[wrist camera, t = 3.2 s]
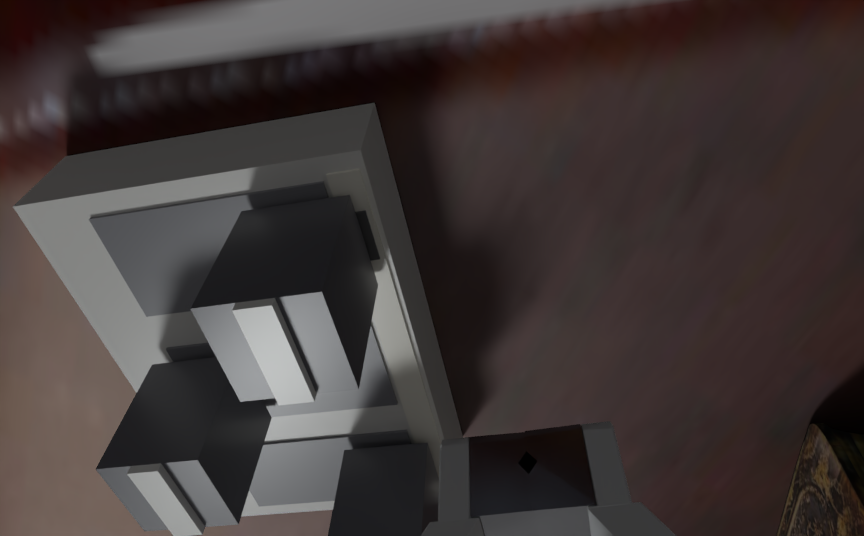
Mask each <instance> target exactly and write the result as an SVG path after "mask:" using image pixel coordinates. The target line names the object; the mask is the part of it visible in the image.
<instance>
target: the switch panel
mask: <svg viewBox="0 0 864 536" xmlns="http://www.w3.org/2000/svg"><path fill="white" fill-rule="evenodd" d="M345 195H350V197H351V200H352V203H353V206H354V209H355V213H356V216H357V219H358V222H359V225H360V229H361V232H362V235H363V238H364V241H365V244H366V248H367V251H368V254H369V257H370V260H371V264H372V267H373V270H374V273H375V276H376V280H377V283H378V289H377V294H376V299H375V305H374V310H373V316H372V321H371V327H370V332H369V337H368V343H367V348H366V354H365V359H364V364H363V370H362V375H361V381H360V386H359V390H349V391H340V392H330V393H320V394H316V398H315V402H308V403H298V404H289V405H278V403H277V401H276V399H275V398H272V399H263V402H264V404H265V406H266V408H267V409H268V411H269V413H270V415H271V417H272V418H271V422H270V425H269V428H268V431H267V434H266V438H265V441H264V444H263V447H262V450H261V454H260V457H259V460H258V463H257V467H256V470H255V473H254V476H253V479H252V483H251V486H250V489H249V492H248V496H247V499H246V502H245V505H244V508H243V512H242V515H241V516H253V515H267V514H280V513H293V512H306V511H320V510H333V507H334V501H335V496H336V491H337V486H338V480H339V475H340V470H341V465H342V459H343V454H344V450H350V449H361V448H372V447H383V446H394V445H406V444H417V443H428V445H429V448H430V452H431V455H432V458H433V461H434V464H435V468H436V471H437V474H438V477H439V461H440V446H441V442H442V440H446V439H456V438H463V435H462V432H461V428H460V424H459V420H458V416H457V413H456V409H455V405H454V401H453V398H452V394H451V390H450V386H449V382H448V379H447V375H446V371H445V367H444V363H443V360H442V356H441V352H440V348H439V345H438V341H437V337H436V333H435V329H434V326H433V322H432V318H431V314H430V310H429V307H428V303H427V299H426V295H425V292H424V288H423V284H422V280H421V276H420V273H419V269H418V265H417V261H416V257H415V254H414V250H413V246H412V242H411V239H410V235H409V231H408V227H407V223H406V220H405V216H404V212H403V208H402V204H401V201H400V197H399V193H398V189H397V185H396V182H395V178H394V174H393V170H392V167H391V163H390V159H389V155H388V151H387V148H386V144H385V140H384V136H383V132H382V129H381V125H380V121H379V117H378V114H377V110H376V106H375V103H370V104H364V105H358V106H353V107H347V108H341V109H335V110H329V111H324V112H318V113H312V114H306V115H301V116H295V117H289V118H283V119H278V120H272V121H266V122H260V123H255V124H249V125H243V126H237V127H232V128H226V129H220V130H214V131H209V132H203V133H197V134H191V135H185V136H180V137H174V138H168V139H162V140H157V141H151V142H145V143H139V144H134V145H128V146H122V147H116V148H111V149H105V150H99V151H93V152H88V153H82V154H76V155H70V156H66V157H65V158H63V159H62V160H61V161H60V162H59V163H58V164H57V165H56V166H55V167H54V168H53V169H52V170H51V171H50V172H49V173H48V174H47V175H46V176H45V177H43V178H42V179H41V180H40V181H39V182H38V183H37V184H36V185H35V186H34V187H33V188H32V189H31V190H30V191H29V192H28V193H27V194H26V195H25V196H24V197H22V198H21V199H20V200H19V201H18V202H17V203H16V204H15V205H14V206H13V208H14V209H15V211H16V212H17V214H18V215H19V217H20V218H21V220H22V221H23V223H24V224H25V226H26V227H27V229H28V230H29V232H30V233H31V235H32V236H33V238H34V239H35V241H36V242H37V244H38V245H39V247H40V248H41V250H42V251H43V253H44V254H45V256H46V257H47V259H48V260H49V262H50V263H51V265H52V266H53V268H54V269H55V271H56V272H57V274H58V275H59V277H60V278H61V280H62V281H63V283H64V284H65V286H66V287H67V289H68V290H69V292H70V293H71V295H72V296H73V298H74V299H75V301H76V303H77V304H78V306H79V307H80V309H81V310H82V312H83V313H84V315H85V316H86V318H87V319H88V321H89V322H90V324H91V325H92V327H93V328H94V330H95V331H96V333H97V334H98V336H99V337H100V339H101V340H102V342H103V343H104V345H105V346H106V348H107V349H108V351H109V352H110V354H111V355H112V357H113V358H114V360H115V361H116V363H117V364H118V366H119V367H120V369H121V370H122V372H123V373H124V375H125V376H126V378H127V379H128V381H129V382H130V384H131V385H132V387H133V388H134V390H135V391H136V393H137V392H138V390H139V388H140V386H141V384H142V382H143V380H144V379H145V377H146V375H147V373H148V371H149V369H150V368H151V366H152V365H153V364H161V363H170V362H178V361H187V360H196V359H204V358H213V357H216V356H215V354H214V352H213V350H212V348H211V346H210V344H209V343H208V341H207V339H206V337H205V335H204V333H203V331H202V330H201V328H200V326H199V324H198V322H197V320H196V318H195V316H194V315H193V313H192V311H191V309H190V308H191V306H192V305H193V303H194V301H195V299H196V297H197V295H198V293H199V291H200V289H201V287H202V285H203V284H204V282H205V280H206V278H207V276H208V274H209V272H210V270H211V268H212V266H213V264H214V263H215V261H216V259H217V257H218V255H219V253H220V251H221V249H222V247H223V245H224V244H225V242H226V240H227V238H228V236H229V234H230V232H231V230H232V228H233V226H234V224H235V223H236V221H237V219H238V217H239V215H240V213H241V211H246V210H253V209H260V208H266V207H273V206H279V205H286V204H292V203H299V202H306V201H312V200H319V199H325V198H332V197H338V196H345Z"/></svg>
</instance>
